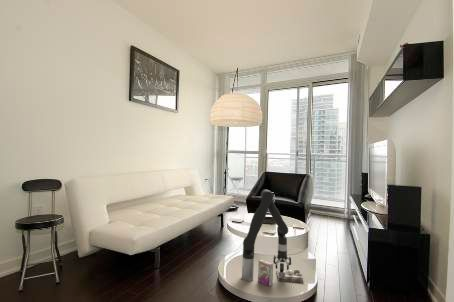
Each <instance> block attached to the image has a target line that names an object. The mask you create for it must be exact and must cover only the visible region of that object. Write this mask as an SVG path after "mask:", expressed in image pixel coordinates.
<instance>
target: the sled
mask: <svg viewBox="0 0 454 302" xmlns="http://www.w3.org/2000/svg"><path fill="white" fill-rule="evenodd" d="M284 263H285V262H279V269H277V271H278V274H279V276H285V271H286V270H285V264H284Z"/></svg>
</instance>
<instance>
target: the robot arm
mask: <svg viewBox="0 0 454 302" xmlns="http://www.w3.org/2000/svg"><path fill="white" fill-rule="evenodd" d="M260 197H261V201H260V204H259V206H258V208H257V209H256V210H255V211H254V213H253V216H252V219H251V222H250V224H249V225H250V226H249V229H248V233H247V235H246V236H245V237H244V239H243V241H242V247H243V248H242V249H243V250H242V267H241V269H242V270H241V280H242V281H245V282H252V281H253V280H254V267H255V266H254V265H255V263H254V262H255V260H254V259H255V243H256V240H257V237H258V234H259V232H260V230H261V229H262V226H263V224H264V221H265V218H266V215H267V212H268V211H269V213H270V214H271V217H272V219H273V222H274V223H275V224H276V225H277V226H276V227H277V228H276V231H277V232H276V233H277V237H278V240H277V255H275V254H274V255H273V263H272V264H273V265H275V269H276V270H278V265H279V264H280V263H285V264H286V271H289V270H290V269H289V266H291V265H292V256H288V237H287V236H286V235H287V234H289V233H288V232H289V227H288V226H287V223H286V222H285V220H284V218H283V217H282V214H281V213H280V211H279V209H278V208H277V207H276V204H275V202H274V200H273V199H274V194H273V192H272V191H271V190H269V189H263V190H262V191H261V192H260ZM276 259H277V260H276Z"/></svg>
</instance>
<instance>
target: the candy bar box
mask: <svg viewBox="0 0 454 302" xmlns="http://www.w3.org/2000/svg"><path fill="white" fill-rule="evenodd" d="M257 272H258V276H257V282H259V283H260V284H263V285H265V286H266V287H271V286H273V279H274V274H273V273H274V263H272V262H269V261H267V260H264V259H260V260H258V271H257Z"/></svg>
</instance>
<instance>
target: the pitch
mask: <svg viewBox="0 0 454 302" xmlns="http://www.w3.org/2000/svg"><path fill="white" fill-rule="evenodd" d="M275 273H276V277H277V281H278V282H284V283H285V282H286V283H296V284H304V283H305V282H304V277H303V273H302V272H301V269H297V268H296V269H293V274H292V275H289V274H288V271H287V270H285V276H279V274H278V270H276V271H275Z"/></svg>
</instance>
